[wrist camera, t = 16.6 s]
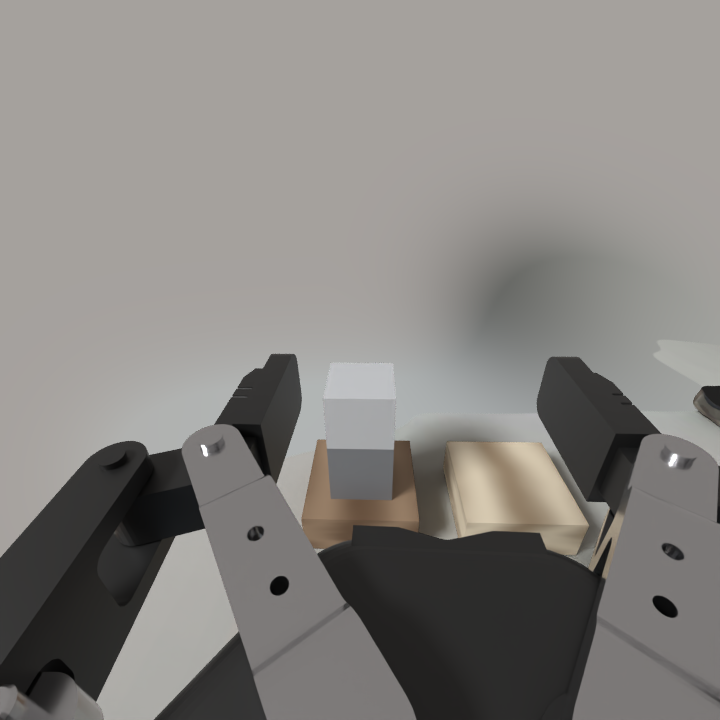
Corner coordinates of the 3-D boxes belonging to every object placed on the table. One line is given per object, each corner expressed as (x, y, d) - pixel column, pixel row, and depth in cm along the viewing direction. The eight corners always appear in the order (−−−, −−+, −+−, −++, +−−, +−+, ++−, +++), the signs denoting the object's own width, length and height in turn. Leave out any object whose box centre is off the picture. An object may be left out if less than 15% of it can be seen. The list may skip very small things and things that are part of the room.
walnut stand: (407, 467, 41) (409, 440, 39) (416, 550, 33) (419, 521, 31) (320, 466, 42) (317, 439, 40) (305, 548, 33) (301, 518, 31)
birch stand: (533, 469, 41) (541, 442, 39) (576, 555, 32) (589, 525, 30) (443, 468, 41) (446, 441, 39) (461, 552, 32) (467, 522, 31)
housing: (389, 456, 37) (393, 363, 32) (391, 500, 33) (396, 399, 27) (336, 455, 38) (330, 362, 32) (330, 498, 33) (323, 398, 28)
